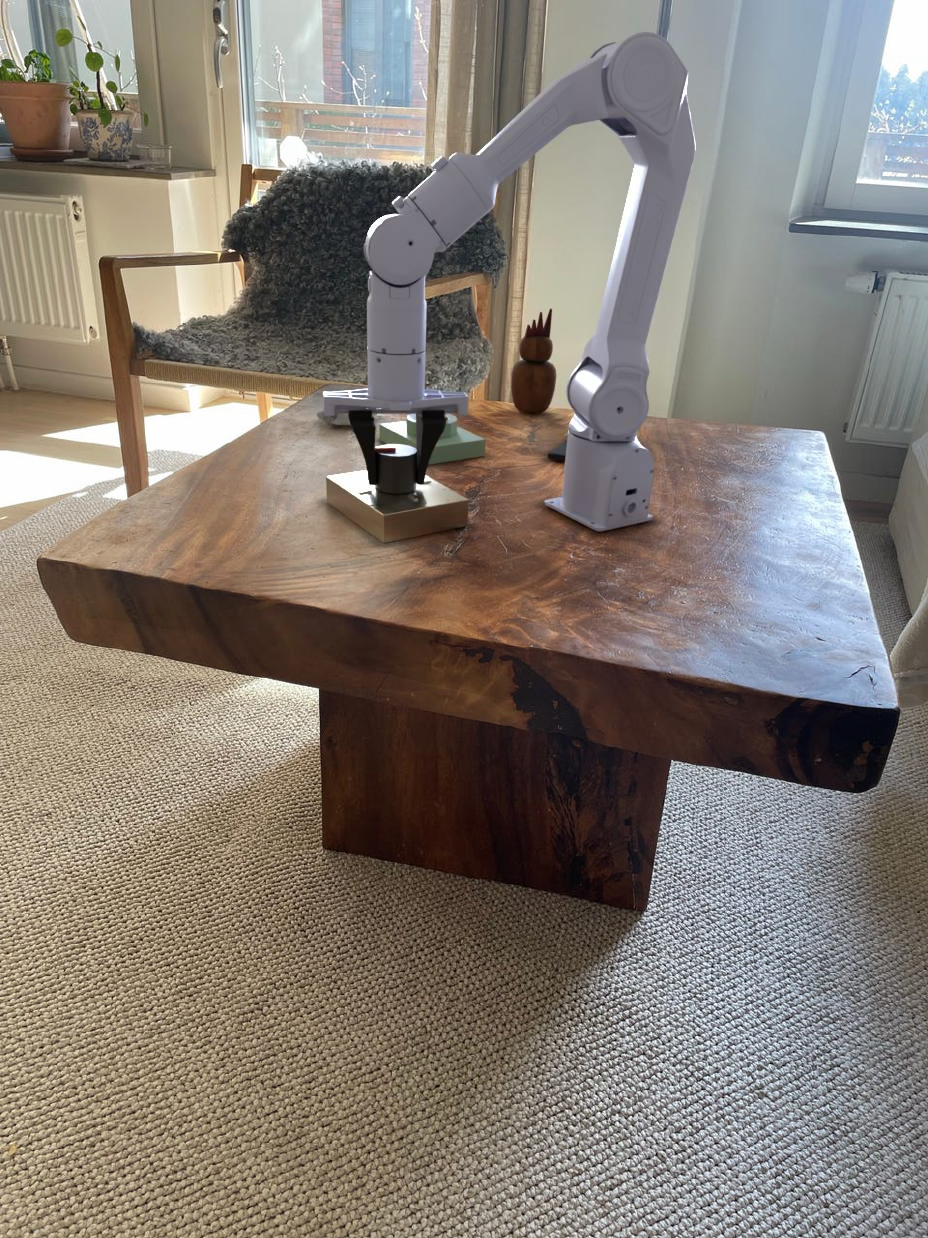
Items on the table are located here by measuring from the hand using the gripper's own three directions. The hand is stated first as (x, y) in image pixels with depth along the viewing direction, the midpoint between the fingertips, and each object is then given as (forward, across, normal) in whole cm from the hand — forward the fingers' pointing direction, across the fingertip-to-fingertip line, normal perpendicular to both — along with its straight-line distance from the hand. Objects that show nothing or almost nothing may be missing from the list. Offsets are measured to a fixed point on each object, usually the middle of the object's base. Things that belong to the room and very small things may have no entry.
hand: (395, 481), depth 93 cm
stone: (+4, -2, +37) cm, 37 cm away
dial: (+1, 0, 0) cm, 1 cm away
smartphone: (+4, +29, +22) cm, 36 cm away
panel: (+4, 0, 0) cm, 4 cm away
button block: (+4, +8, +24) cm, 25 cm away
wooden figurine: (+4, +26, +42) cm, 50 cm away
